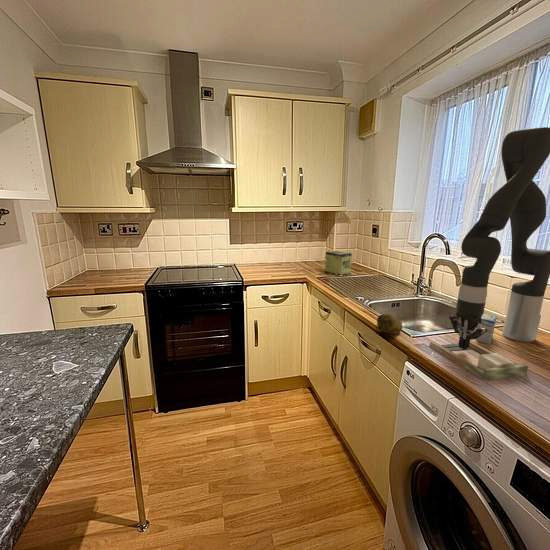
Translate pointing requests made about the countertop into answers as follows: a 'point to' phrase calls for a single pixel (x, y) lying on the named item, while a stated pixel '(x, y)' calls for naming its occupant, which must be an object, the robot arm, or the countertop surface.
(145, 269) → the countertop surface
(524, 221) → the robot arm
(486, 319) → the medicine box
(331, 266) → the protein box
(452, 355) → the shallow green tray
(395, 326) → the potato
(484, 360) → the cream block
